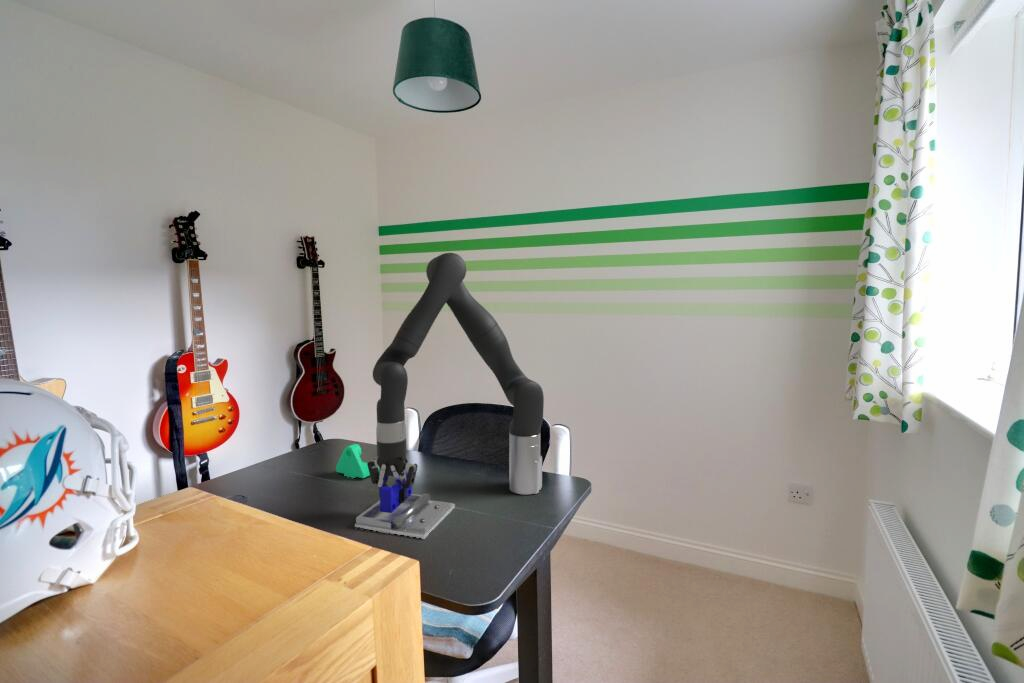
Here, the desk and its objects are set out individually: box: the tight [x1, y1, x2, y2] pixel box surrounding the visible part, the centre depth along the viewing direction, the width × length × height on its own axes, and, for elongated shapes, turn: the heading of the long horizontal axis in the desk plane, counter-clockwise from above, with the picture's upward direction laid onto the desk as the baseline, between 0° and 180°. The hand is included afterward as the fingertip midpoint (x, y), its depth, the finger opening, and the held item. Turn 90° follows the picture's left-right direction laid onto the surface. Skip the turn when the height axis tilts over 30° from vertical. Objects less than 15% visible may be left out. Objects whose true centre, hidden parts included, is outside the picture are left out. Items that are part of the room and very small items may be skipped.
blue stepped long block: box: [379, 471, 413, 513], centre depth 125 cm, size 12×4×6 cm, turn 167°
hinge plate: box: [354, 492, 456, 540], centre depth 124 cm, size 19×18×3 cm
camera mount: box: [335, 443, 380, 479], centre depth 154 cm, size 12×8×10 cm, turn 62°
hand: (393, 500), depth 125 cm, fingers closed on blue stepped long block, 4 cm apart
